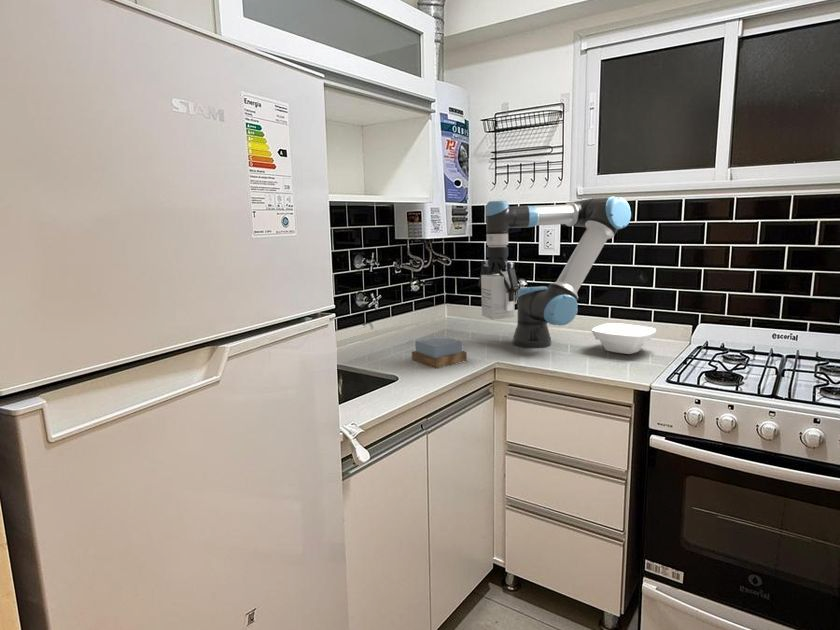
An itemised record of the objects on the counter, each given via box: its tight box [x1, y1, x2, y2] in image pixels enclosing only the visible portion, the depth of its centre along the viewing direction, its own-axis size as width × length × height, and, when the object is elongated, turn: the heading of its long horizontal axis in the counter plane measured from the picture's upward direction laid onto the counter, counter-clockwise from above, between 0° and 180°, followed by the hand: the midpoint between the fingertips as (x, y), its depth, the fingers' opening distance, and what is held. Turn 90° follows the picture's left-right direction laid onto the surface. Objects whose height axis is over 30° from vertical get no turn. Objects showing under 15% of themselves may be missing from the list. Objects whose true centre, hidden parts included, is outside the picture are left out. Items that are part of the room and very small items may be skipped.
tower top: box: [414, 335, 463, 358], centre depth 192 cm, size 12×12×4 cm
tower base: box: [411, 350, 468, 369], centre depth 192 cm, size 14×14×4 cm
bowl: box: [591, 322, 657, 355], centre depth 199 cm, size 21×21×9 cm
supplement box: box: [480, 273, 516, 320], centre depth 189 cm, size 9×9×15 cm
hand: (497, 308), depth 190 cm, fingers closed on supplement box, 10 cm apart
